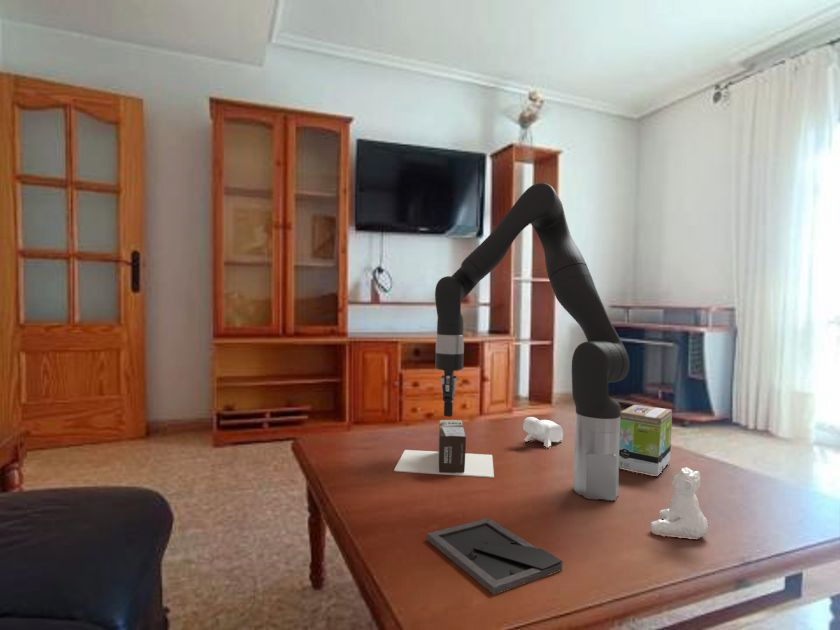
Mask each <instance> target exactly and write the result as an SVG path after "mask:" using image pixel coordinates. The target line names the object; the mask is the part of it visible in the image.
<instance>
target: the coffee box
mask: <svg viewBox="0 0 840 630" xmlns="http://www.w3.org/2000/svg"><path fill="white" fill-rule="evenodd" d="M438 427H439V429H438V451H437V452H438V454H439V472H447V473H456V472H464V471H465V453H466V450H467V449H466V448H467V447H466V446H467V437H466V433H465V429H464V425H463V421H462V420H461V419H460V420H459V419H457V420H455V419H450V420H449V419H440V420H439V426H438Z"/></svg>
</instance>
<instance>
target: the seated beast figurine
mask: <svg viewBox="0 0 840 630" xmlns="http://www.w3.org/2000/svg"><path fill="white" fill-rule="evenodd" d="M673 477H674V478H673V481H672V484H671V487H672V488H673V489H674V490H673V494H672V495H673V496H672V498H671V500H670V505H669V506H668V507H669V508H664V509H661V510H660V511H659V513H658V516H659V517H658V518H659V519H657V520H653V521H651V522H650V531H651V530H652V532H655V533H660V534H665V535H674V536H682V537H684V536H685V537H691V538H699V539H701V538H703V537H705V536H706V534H707V533H708V532H709V527H708V526H709V524H708V520H707V519H708V518H707V517H705V516H704V515H705V514H703V512H702V510H701V509H700V504H699V503H700V502H699V499H698V498H697V494H695V493H696V492H697V491H698V490H699V488H700V485H701V473H700V471H698V470H695V471H694V470H693V469H691V468H690V467H687V466H686V467H685V466H684V467H682V468H680V471H679V472H678V474H675V475H674V476H673ZM661 518H662V519H664V520H662V519H661ZM700 537H701V538H700Z"/></svg>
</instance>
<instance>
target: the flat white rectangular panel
mask: <svg viewBox="0 0 840 630" xmlns="http://www.w3.org/2000/svg"><path fill="white" fill-rule="evenodd" d="M393 472H398V473H400V472H401V473H415V474H428V475H429V474H430V475H431V474H432V475H444V476H445V475H446V476H457V477H458V476H459V477H461V476H462V477H476V478H490V479H491V478H493V479H494V478H495V475H494V473H495V471H494V459H493V454H481V453H466V452H465V471H464V472H456V473H447V472H439V454H438V451H434V450H433V451H431V450H419V449H418V450H416V449H415V450H412V449H404V451H403V453H402V454H401V457H400V459H399V460H398V461H397V464H396V466H395V467H394V470H393Z"/></svg>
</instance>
